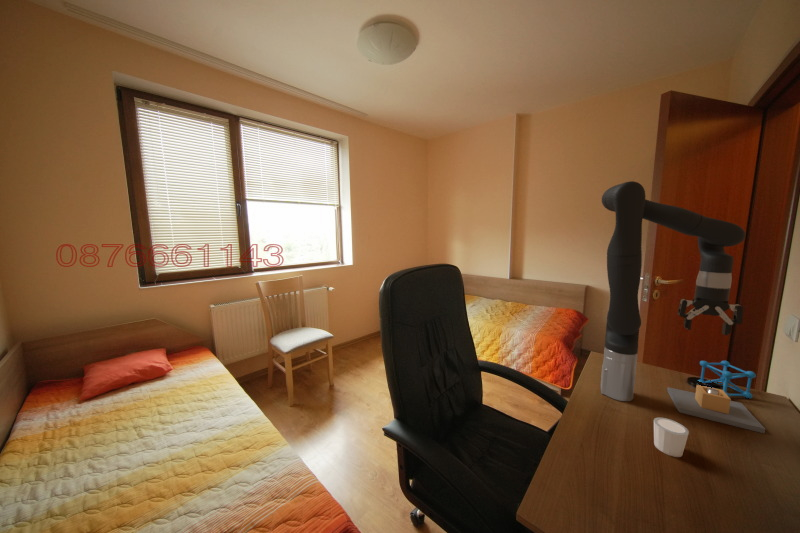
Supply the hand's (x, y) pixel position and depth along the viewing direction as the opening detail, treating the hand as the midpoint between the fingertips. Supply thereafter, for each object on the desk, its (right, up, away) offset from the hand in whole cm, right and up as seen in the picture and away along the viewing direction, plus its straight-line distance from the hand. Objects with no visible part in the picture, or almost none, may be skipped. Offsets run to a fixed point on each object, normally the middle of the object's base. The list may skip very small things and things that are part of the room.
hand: (705, 331), depth 92 cm
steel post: (-1, -24, -2) cm, 24 cm away
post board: (-1, -25, -2) cm, 26 cm away
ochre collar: (-1, -24, -2) cm, 24 cm away
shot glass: (-30, -28, -17) cm, 45 cm away
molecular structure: (+15, -24, +8) cm, 29 cm away
